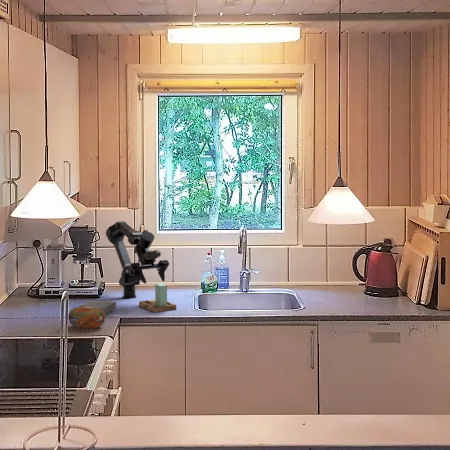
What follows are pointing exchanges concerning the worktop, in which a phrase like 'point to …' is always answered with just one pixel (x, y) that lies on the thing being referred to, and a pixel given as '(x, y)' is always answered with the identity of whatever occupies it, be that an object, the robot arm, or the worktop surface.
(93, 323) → the tin
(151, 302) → the offcut upper
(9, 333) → the worktop surface
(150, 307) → the rack
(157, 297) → the mint green block
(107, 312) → the plinth
